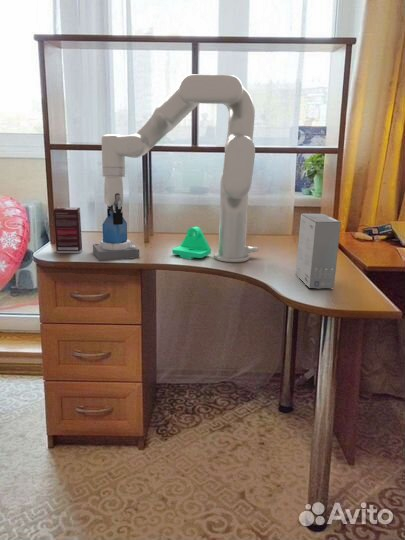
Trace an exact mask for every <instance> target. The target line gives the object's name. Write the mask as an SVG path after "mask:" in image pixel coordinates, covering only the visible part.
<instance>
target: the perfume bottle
mask: <svg viewBox="0 0 405 540" xmlns="http://www.w3.org/2000/svg"><path fill="white" fill-rule="evenodd" d="M115 208H116V207H115ZM113 213H114V210H113V207H110V216H109V217H106V218H105V219H104V221H103V223H102V240H103V242H107V243H116V244H119V243H122V242H124V241H127V239H128V222H127V221H126V220H125V218H124V217H123V224H120V225H114V224H113Z"/></svg>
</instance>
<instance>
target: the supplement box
mask: <svg viewBox="0 0 405 540" xmlns="http://www.w3.org/2000/svg"><path fill="white" fill-rule="evenodd" d="M52 210H53V223H54V236H55V252H56V254H81V252H82V251H83V242H82V241H83V240H82V222H81V221H82V220H81V208H80V207H61V206H60V207H55V208H53V209H52Z"/></svg>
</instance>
